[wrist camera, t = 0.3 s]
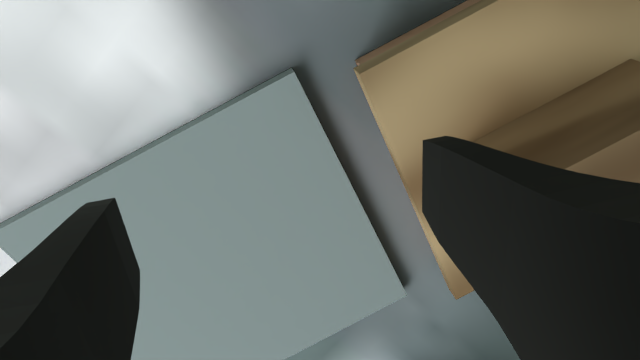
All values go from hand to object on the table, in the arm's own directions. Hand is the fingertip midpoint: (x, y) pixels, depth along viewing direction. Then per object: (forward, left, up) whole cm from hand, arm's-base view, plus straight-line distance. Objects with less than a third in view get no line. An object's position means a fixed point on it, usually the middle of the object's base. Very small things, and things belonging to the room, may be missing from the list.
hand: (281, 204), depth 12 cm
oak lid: (-7, -11, -8) cm, 15 cm away
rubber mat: (-7, +5, -10) cm, 13 cm away
